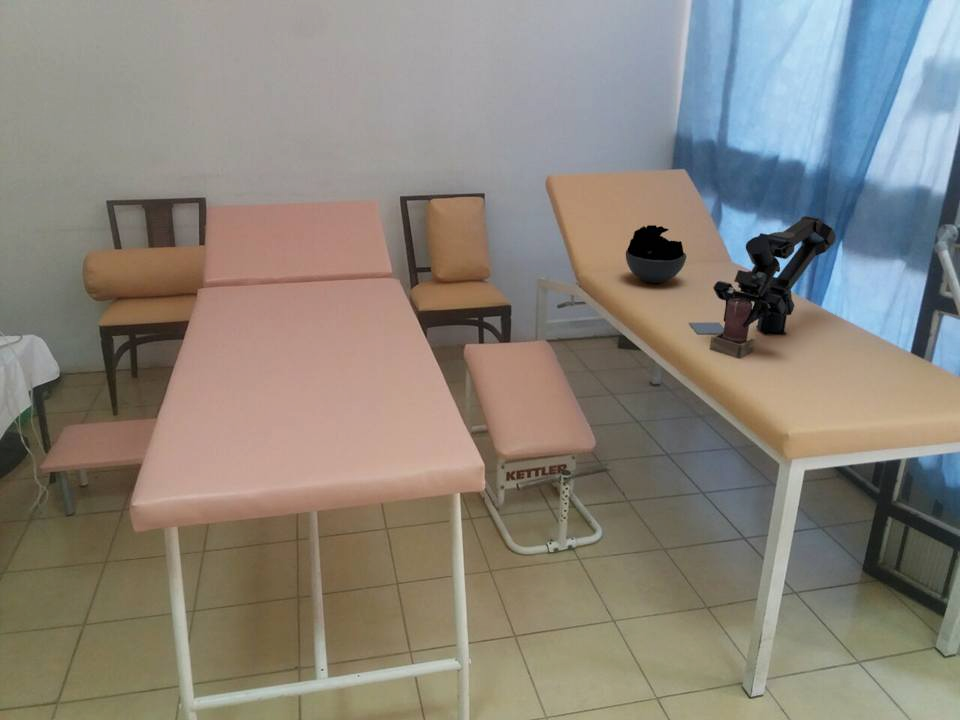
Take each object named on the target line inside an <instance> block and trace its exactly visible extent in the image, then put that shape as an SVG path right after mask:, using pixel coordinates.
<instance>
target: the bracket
mask: <svg viewBox="0 0 960 720" xmlns="http://www.w3.org/2000/svg"><path fill="white" fill-rule="evenodd" d="M723 332H724V331H723ZM723 332H721V333H719V334H713V335H712V336H711V337H710V343H709V350H711V349H713V350H712V351H715V350H716V351H715V352H718V351H719V353H721V352H722V353H721V354H724V353H725V354H724V355H727V354H728V355H727V356H731V357H733V358H738V359H741V358H743V357H745V356H747V355H749V354H751V353H753V351H754V346H755V342H756V341H755V339H754V338H750V339H747V341H746V342H744V343H742V344H738V343H734V342H731V341H728V340H724V339H723Z"/></svg>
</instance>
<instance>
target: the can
mask: <svg viewBox="0 0 960 720" xmlns="http://www.w3.org/2000/svg"><path fill="white" fill-rule="evenodd" d="M752 308H753V302H752V301H751V300H750V299H748V298H744V297H732V298H730V300H729V301H728V305H727V312H726V319H725V322H724V326H723V327H724V332H723V339H724V340H728V341H731V342H734V343H738V344H742V343H744V342H746V341H748V335H749V334H748V333H749V327H750V325H748V326H747V327H746V328H744V327H743V324H744V322H745V321H746V320H747V318H748V316H749V314H750V312H751V310H752Z"/></svg>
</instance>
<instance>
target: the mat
mask: <svg viewBox="0 0 960 720" xmlns="http://www.w3.org/2000/svg"><path fill="white" fill-rule="evenodd" d="M688 323H689V324H690V325H689V324H688V325H689V327H691V328H692V330H693V329H694V330H693V331H694V332H695V334H696V335H698V334H711V335H716V334H719V333H721V332H723V331H724V326H723V325H722V324H721V323H720V322H688Z"/></svg>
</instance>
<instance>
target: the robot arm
mask: <svg viewBox="0 0 960 720" xmlns="http://www.w3.org/2000/svg"><path fill="white" fill-rule="evenodd" d="M836 236H837V235H836V233H835V231H834V229H833V227H830V226H829V225H828V224H826V223H824V221H823V220H822V219H820V218H819V217H815V216H809V215H806V216H802V217H801V218H800V220H799V221H797V222H795V223H794V224H793V225H790V227H788V228H787V229H784V230H783V231H776V232H771V233H769V234H766V233H761V232H760V234H759V235H757V236H755V237H752V238H751V239H749V240H748V241H746V244H745V251H746V253H747V255H748V257H749V259H750V261H751V264H753V265H754V266H753V268H752V269H751V271H750V270H748V271H745V270H741V269H738V270H737V272H736V275H735V278H734V281H733V282H734V283H738V285H737V286H738V287H737V288H739V289H740V290H738V289H735V288H734V286H733V284H732V283H730V282H727V281H722V280H719V281H717V282H715V284H714V285H713V288H712V289H713V290H714V292H715V295H716V296H717V298H718V299H720V300H722V301H725V309H724V314H723V322H724V323H725V319H726V312H727V305H728V301H729V300H730V298H732V297H744V298H748V299H750V300H751V302H752V303H753V305H752V310H751V312H750V314H749V316H748V318H747V320H746V321H745V322H744V324H743V327H744V328H746V327H747V326H748V325H749V326H750V325H751V324H753V323H755V322H756V321H757V323H756V324H757V325H756V327H755V328H757V329H758V331H759V332H761V333H762V334H763V335H767V336H769V335H773V336H774V335H775V336H778V335H782V336H783V335H785V336H786V335H787V332H786V330H785V328H786V323H787V316H791V315H792V313H793V311H794V308H795V303H794V301H793V299H792V298H793V297H792V295H793V294H792V289H793V287H794V286H795V284H796V283H797V281H799V279H800V277H801V276H802V275H803V273H804V272H805V271H806V269H807V268H808V267H809V266H810V264H811V263H812V261H813V260H814V259H815V257H816V256H819V255H821V254H824V253H826V252H827V251H828V250H829V249H830V248H831V246H833V245H834V244H835V241H836ZM800 243H801V245H800V247H799V248H798V249H797V250H796V251H795V246H796V245H798V244H800ZM793 253H794V254H793ZM792 255H793V256H792ZM791 256H792V257H791ZM789 257H791V259H790V260H789V261H788V262H787V264H786V265H785V266H784V268H783V269H782V271H781V266H780V261H779V260H778V259H777V258H779V259H783V260H787V259H788V258H789ZM780 271H781V272H780ZM776 273H779V275H777V277H776V276H775V275H776Z"/></svg>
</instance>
